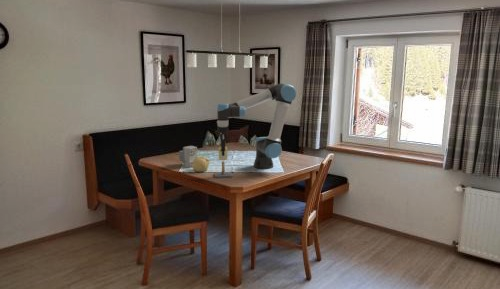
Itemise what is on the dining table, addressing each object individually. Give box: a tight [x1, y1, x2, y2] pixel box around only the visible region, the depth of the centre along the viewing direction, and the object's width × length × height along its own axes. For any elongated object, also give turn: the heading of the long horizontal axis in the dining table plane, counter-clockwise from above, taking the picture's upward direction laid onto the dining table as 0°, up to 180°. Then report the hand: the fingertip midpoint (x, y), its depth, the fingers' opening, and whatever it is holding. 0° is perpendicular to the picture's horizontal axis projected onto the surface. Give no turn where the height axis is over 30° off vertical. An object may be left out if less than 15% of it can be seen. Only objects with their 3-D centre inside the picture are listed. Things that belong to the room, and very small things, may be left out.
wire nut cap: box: [218, 146, 228, 161], centre depth 268 cm, size 6×6×8 cm
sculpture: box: [192, 156, 210, 173], centre depth 282 cm, size 12×12×11 cm
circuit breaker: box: [178, 145, 198, 169], centre depth 296 cm, size 8×14×15 cm, turn 51°
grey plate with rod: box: [214, 161, 233, 179], centre depth 270 cm, size 12×10×10 cm
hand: (222, 158), depth 269 cm, fingers closed on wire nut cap, 6 cm apart
